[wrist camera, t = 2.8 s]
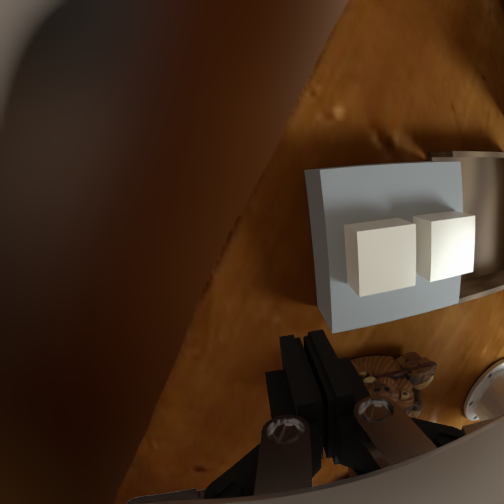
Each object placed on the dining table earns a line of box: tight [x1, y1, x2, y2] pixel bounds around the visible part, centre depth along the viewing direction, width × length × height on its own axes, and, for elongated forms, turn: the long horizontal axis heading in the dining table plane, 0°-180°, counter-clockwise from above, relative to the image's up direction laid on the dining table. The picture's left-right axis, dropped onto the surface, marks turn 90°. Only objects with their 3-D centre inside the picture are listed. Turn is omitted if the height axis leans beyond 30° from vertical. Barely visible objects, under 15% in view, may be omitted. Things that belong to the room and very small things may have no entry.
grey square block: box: [304, 161, 463, 334], centre depth 28 cm, size 14×14×6 cm
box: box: [429, 151, 504, 306], centre depth 29 cm, size 13×16×4 cm
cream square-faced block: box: [413, 211, 475, 282], centre depth 24 cm, size 5×5×3 cm
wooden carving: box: [351, 352, 437, 417], centre depth 30 cm, size 16×5×10 cm, turn 101°
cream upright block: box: [344, 218, 416, 297], centre depth 24 cm, size 5×5×3 cm
